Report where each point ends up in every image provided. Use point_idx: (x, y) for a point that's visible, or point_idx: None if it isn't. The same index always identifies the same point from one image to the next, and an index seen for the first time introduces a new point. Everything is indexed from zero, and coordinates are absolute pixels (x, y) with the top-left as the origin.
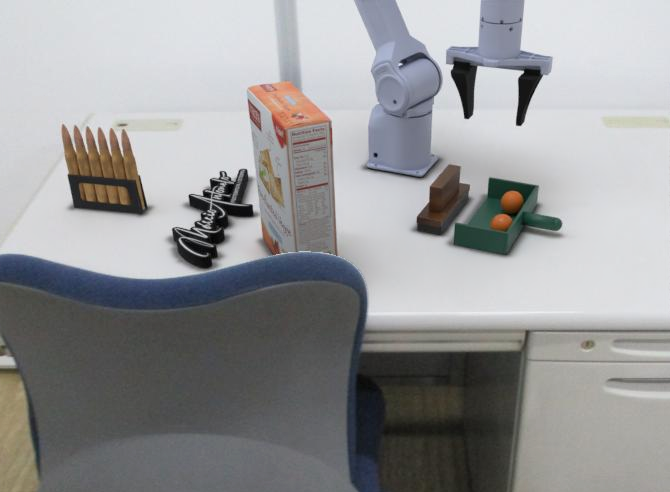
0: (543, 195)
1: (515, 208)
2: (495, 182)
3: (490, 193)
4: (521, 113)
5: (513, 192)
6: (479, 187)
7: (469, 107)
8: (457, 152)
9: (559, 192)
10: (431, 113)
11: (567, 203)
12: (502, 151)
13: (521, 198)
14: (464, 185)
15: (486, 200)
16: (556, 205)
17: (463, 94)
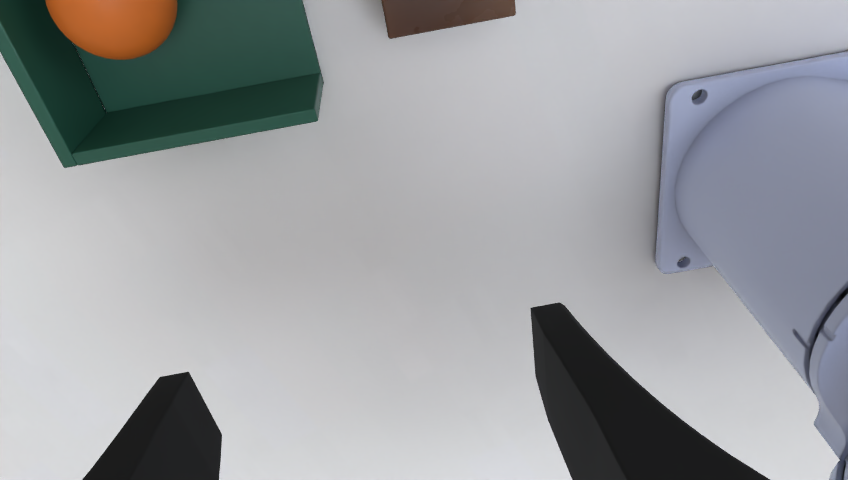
0: (144, 218)
1: None
2: (280, 109)
3: (304, 82)
4: (114, 445)
5: (86, 7)
6: (402, 143)
7: (555, 376)
8: (608, 340)
9: (115, 270)
10: (799, 348)
11: (21, 209)
12: (469, 414)
13: (47, 7)
14: (408, 11)
15: (303, 39)
16: (40, 170)
17: (637, 425)
